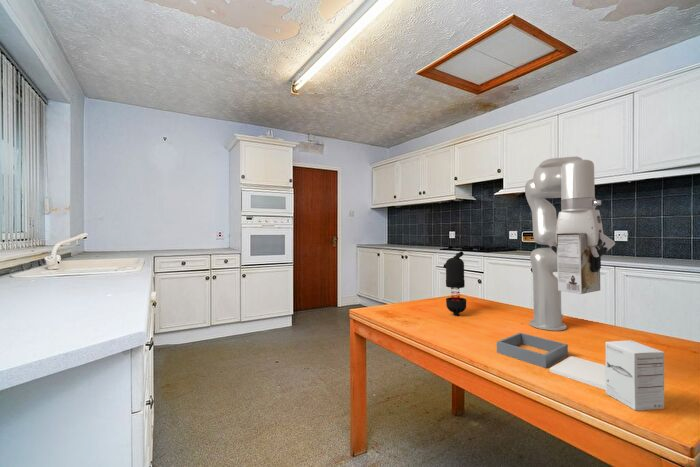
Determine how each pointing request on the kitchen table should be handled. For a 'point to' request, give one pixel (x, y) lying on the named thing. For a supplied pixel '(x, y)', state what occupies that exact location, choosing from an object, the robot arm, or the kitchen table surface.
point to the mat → (582, 371)
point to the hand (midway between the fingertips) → (578, 270)
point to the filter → (455, 283)
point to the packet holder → (543, 360)
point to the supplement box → (635, 374)
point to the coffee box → (575, 264)
